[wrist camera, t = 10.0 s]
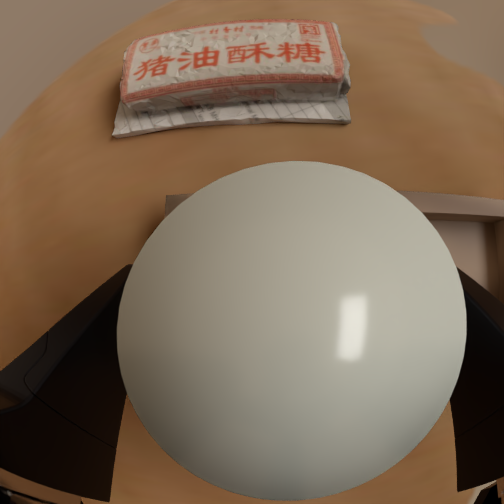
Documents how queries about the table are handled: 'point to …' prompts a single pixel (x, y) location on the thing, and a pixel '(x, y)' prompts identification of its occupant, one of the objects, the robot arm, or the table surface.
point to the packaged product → (234, 76)
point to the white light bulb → (291, 330)
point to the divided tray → (454, 232)
